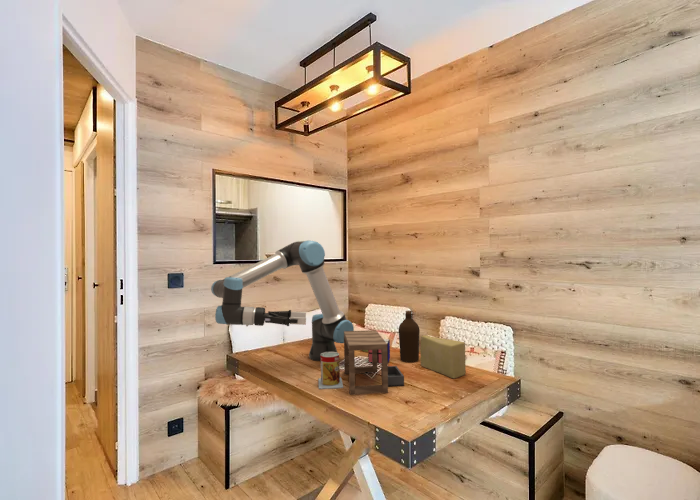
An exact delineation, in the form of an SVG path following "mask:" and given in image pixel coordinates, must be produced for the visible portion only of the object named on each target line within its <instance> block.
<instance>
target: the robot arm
mask: <svg viewBox="0 0 700 500" xmlns="http://www.w3.org/2000/svg"><path fill="white" fill-rule="evenodd" d="M325 256H326V252H325V249H324V247H323V245H322V244H321V243H320V242H318V241H316V240H309V239H308V240H301V241H299V240H298V241H294V242H292V243H290V244H288V245H286V246H284V247H282V248H280V249H279V250H276V251H275V254H273V255H270V256H269V257H267V258H265V259H262V260H260V261H258V262H256V263H255V264H253V265H252V264H251V265H250V266H248V267H246V268H244V269H242V270H240V271H238V272H235V273H233V274H231V275H229V276H226V277H225V278H223V279H219V280H216V281H214V282H213V283H212V285H211V288H210V289H211V293H212V294H213V296H215V297H217V298H221V299H222V304H221V305H218V306H217V307H216V310H215V313H214V314H215V315H214V319H215V323H217V324H220V325H231V326H235V325H238V326H245V327H248V326H257V327H259V326H260V327H261V326H264V325H265V324H266V323H268V324H275V325H283V326H286V327H290V325H298V326H299V325H302V326H303V325H305V326H306V324H307V317H306V316H307V312H304V311H303V312H302V311H292V310H291V309H288V310H281V311H272V310H271V311H267V312H266V308H265V307H262V306H261V307H259V306H257V307H256V308H255V307H254V306H242V298H243V297H242V296H243V289H244V288H247V287H248V286H250V285H251V284H254V283H256V282H258V281H259V280H261V279H263V278H265V277H267V276H269V275H272V274H273V273H275V272H277V271H279V270H281V269H283V270H284V269H285V270H286V269H288V268H289V267H294V266H299V268H300V270H301V273H302V274H305V275H306V277H307V279H308V283H309V284H310V287H311V289H312V292H313V294H314V297H315V300H316V302H317V305H318V306H319V309H320V311H321V313H319V314H318V313H317V314H313V315H312V317H311V340H312V341H311V342H312V343H311V346H310V350H309V354H308V358H309V359H310V360H311V361H316V362H321V353H324V352H337V353H339V352H338V349H337V347H336V343H337V344H344V331H355V330H354V325H353V322H351V321H350V320H349V319H347V318H346V315H345V312H344V311H343V310H340V308H339V306H338V302H337V300H336V297H335V295H334V292H333V290H332V287H331V284H330V283H329V280H328V277H327V275H326V272H325V269H324V266H325Z"/></svg>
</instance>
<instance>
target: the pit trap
mask: <svg viewBox="0 0 700 500" xmlns="http://www.w3.org/2000/svg"><path fill="white" fill-rule="evenodd" d="M380 368H381V369H380V373H381V374H380V376H381V377H382V366H381V367H380ZM390 387H405V376H404V374H403V373H402V372H401V370H400V368H399V367H398V366H397V365H389V366H388V388H390Z"/></svg>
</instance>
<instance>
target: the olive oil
mask: <svg viewBox="0 0 700 500" xmlns="http://www.w3.org/2000/svg"><path fill="white" fill-rule="evenodd" d="M404 316H405V317H404V320H402V322H401V323H400V324H399V326H398V340H399V341H398V342H399V345H398V346H399V359H400V361H401V362H403V363H417V362H419V360H420V356H419V355H420V327H419V324H418V323H417V322H416V321H415V320H414V318H413V311H412V310H405V315H404Z"/></svg>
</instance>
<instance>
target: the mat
mask: <svg viewBox="0 0 700 500" xmlns="http://www.w3.org/2000/svg"><path fill="white" fill-rule="evenodd" d="M330 389H332V390H333V389H344V385H343V379H342V377H341V376H340V383H339V384H337V385H334V386H326V385H322V384H321V377H320V378H318V390H330Z"/></svg>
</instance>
